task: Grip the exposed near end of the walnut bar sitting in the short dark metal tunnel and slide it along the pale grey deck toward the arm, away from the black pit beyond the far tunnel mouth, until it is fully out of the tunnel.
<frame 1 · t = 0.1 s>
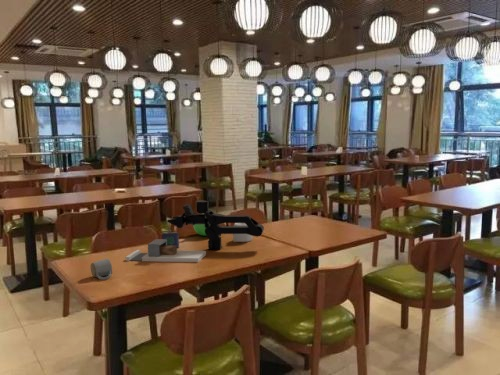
hand: (170, 219, 249), 17 cm above the table, tool horizontal, fingers open, 9 cm apart
ceramic mug: (103, 277, 204), on the table
deck: (158, 257, 232), on the table
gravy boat: (205, 235, 280), on the table
walnut bar: (162, 253, 232), point 2 cm above the table, touching deck
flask: (171, 248, 251), on the table
toilet tissue: (243, 240, 264), on the table
tunnel: (157, 247, 232), on the deck, point 5 cm above the table
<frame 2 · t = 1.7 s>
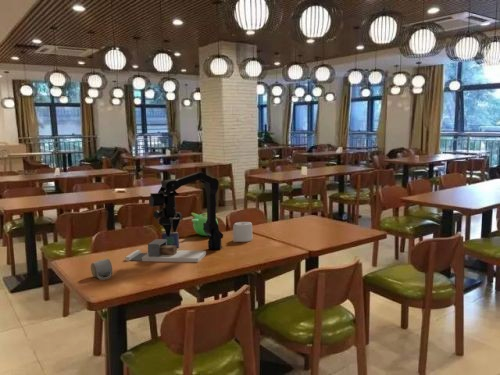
hand: (171, 234, 230), 12 cm above the table, tool pointing down, fingers open, 9 cm apart
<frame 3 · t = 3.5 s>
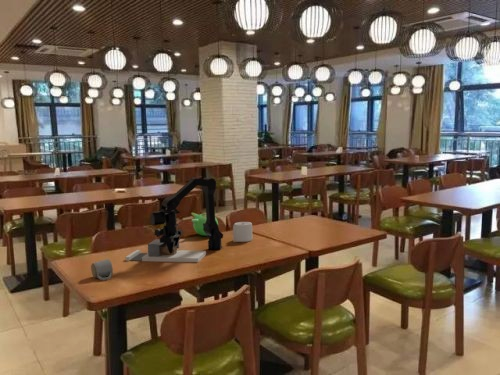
hand: (172, 252, 231), 3 cm above the table, tool pointing down, fingers closed on walnut bar, 4 cm apart
walnut bar: (162, 253, 232), point 2 cm above the table, touching deck, gripper
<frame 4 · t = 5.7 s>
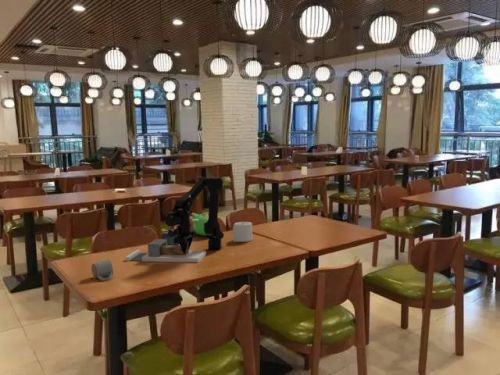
hand: (186, 252, 229), 3 cm above the table, tool pointing down, fingers closed on walnut bar, 4 cm apart
walnut bar: (174, 253, 231), point 2 cm above the table, touching gripper
when the fingers open (3 cm above the table, at t = 7.9 s): walnut bar stays where it is, resting on deck.
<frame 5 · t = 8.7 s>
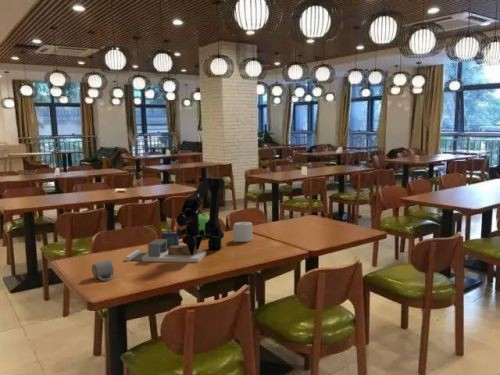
hand: (194, 252, 228), 3 cm above the table, tool pointing down, fingers open, 9 cm apart
walnut bar: (182, 254, 230), point 2 cm above the table, touching deck
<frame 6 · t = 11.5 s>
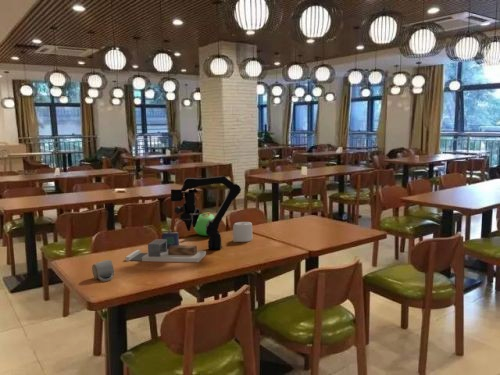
hand: (191, 229, 243), 12 cm above the table, tool pointing down, fingers open, 9 cm apart
at the end: walnut bar inside the target area on the deck (2.0 cm from its centre), point 2.0 cm above the deck's base; walnut bar tilted 0°; the gripper is holding nothing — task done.
